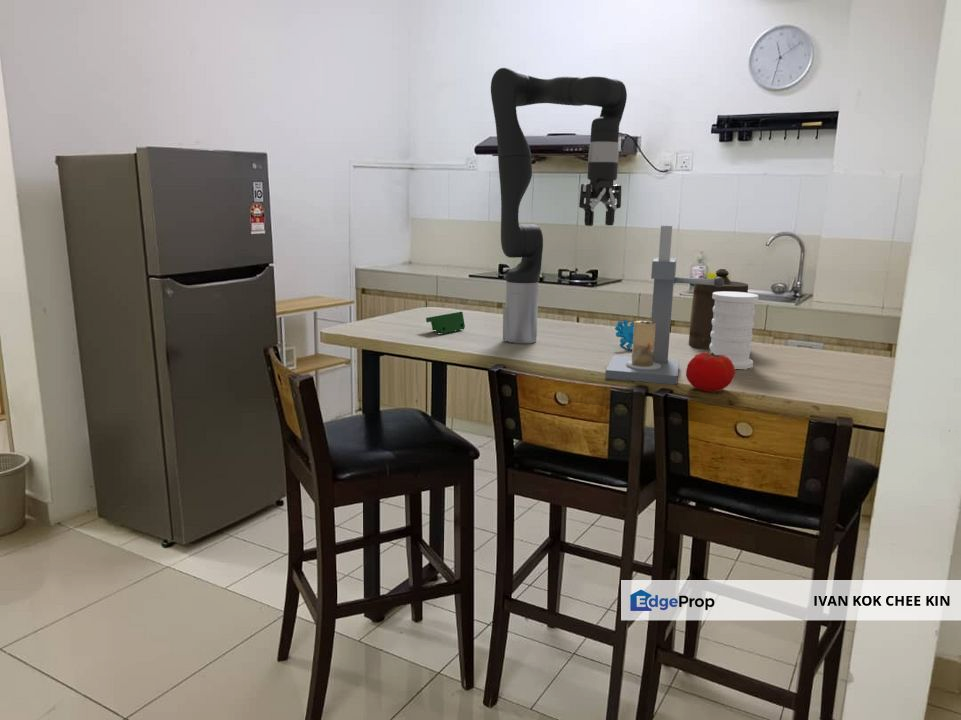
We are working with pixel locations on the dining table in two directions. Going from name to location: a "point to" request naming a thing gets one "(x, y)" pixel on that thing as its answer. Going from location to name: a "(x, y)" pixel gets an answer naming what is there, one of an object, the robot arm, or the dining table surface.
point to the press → (658, 320)
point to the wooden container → (708, 308)
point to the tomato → (710, 372)
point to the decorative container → (733, 326)
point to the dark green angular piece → (447, 322)
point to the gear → (625, 333)
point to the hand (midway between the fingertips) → (599, 225)
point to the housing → (643, 343)
